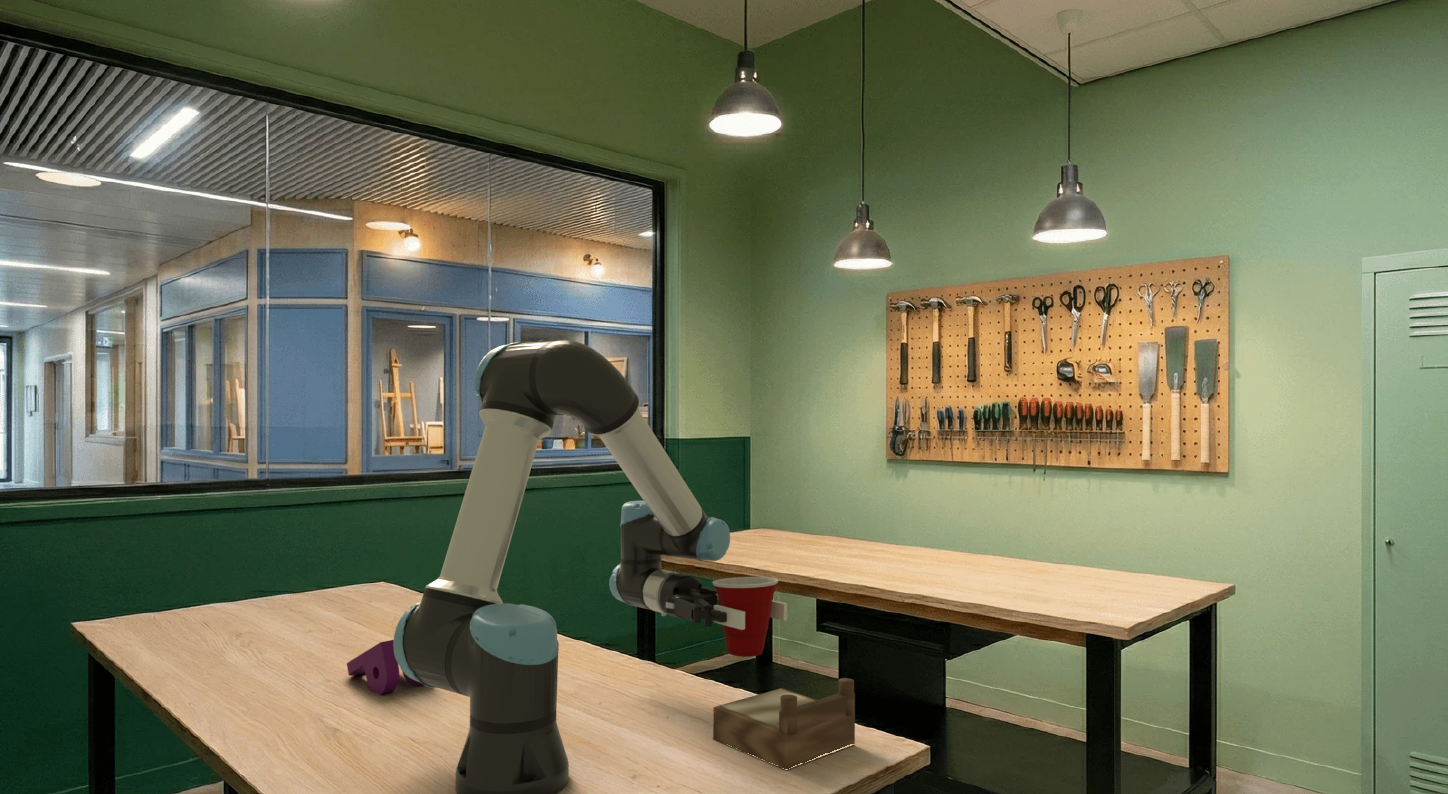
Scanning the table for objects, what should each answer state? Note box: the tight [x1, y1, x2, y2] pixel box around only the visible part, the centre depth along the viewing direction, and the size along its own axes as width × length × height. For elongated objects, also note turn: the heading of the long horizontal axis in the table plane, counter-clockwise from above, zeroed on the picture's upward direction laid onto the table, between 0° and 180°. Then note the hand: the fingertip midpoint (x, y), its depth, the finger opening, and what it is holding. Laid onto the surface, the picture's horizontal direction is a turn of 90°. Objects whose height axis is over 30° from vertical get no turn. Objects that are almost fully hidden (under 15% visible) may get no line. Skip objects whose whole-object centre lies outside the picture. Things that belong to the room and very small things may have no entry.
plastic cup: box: [711, 576, 779, 658], centre depth 145 cm, size 11×11×12 cm
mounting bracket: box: [346, 639, 423, 696], centre depth 167 cm, size 9×8×18 cm
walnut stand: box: [712, 677, 856, 770], centre depth 137 cm, size 16×15×10 cm
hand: (764, 616), depth 141 cm, fingers closed on plastic cup, 9 cm apart
